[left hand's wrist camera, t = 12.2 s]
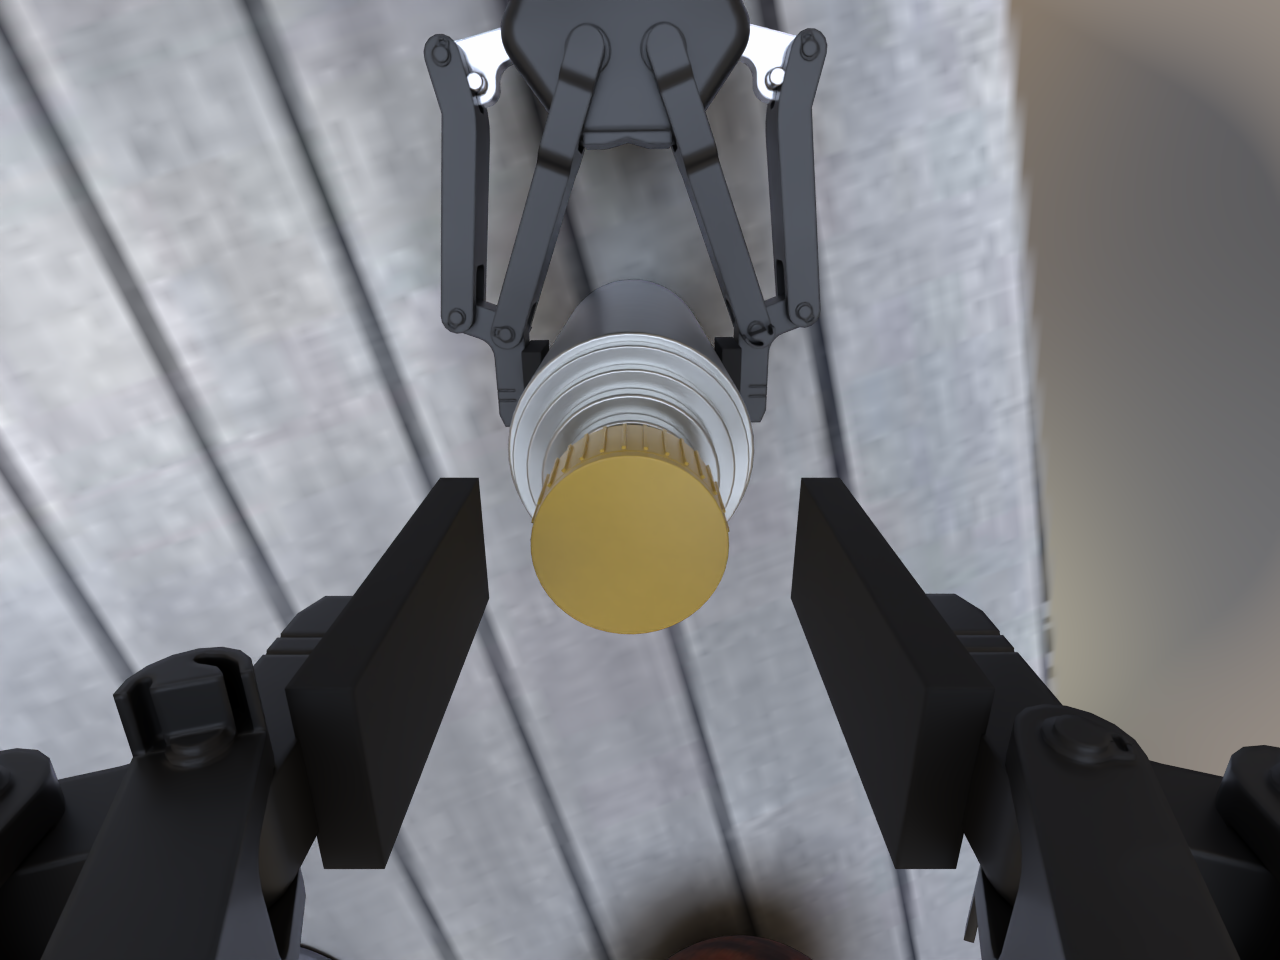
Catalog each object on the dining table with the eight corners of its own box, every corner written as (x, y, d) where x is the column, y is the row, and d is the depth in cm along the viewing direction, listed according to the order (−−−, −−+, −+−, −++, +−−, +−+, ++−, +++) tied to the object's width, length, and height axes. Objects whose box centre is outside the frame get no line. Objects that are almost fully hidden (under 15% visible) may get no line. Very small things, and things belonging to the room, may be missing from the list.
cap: (729, 572, 17) (743, 622, 15) (561, 598, 17) (551, 649, 15) (707, 408, 16) (718, 437, 14) (523, 437, 16) (506, 471, 14)
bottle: (711, 408, 36) (809, 656, 16) (577, 430, 36) (505, 699, 16) (692, 267, 33) (780, 349, 13) (549, 292, 34) (423, 408, 14)
